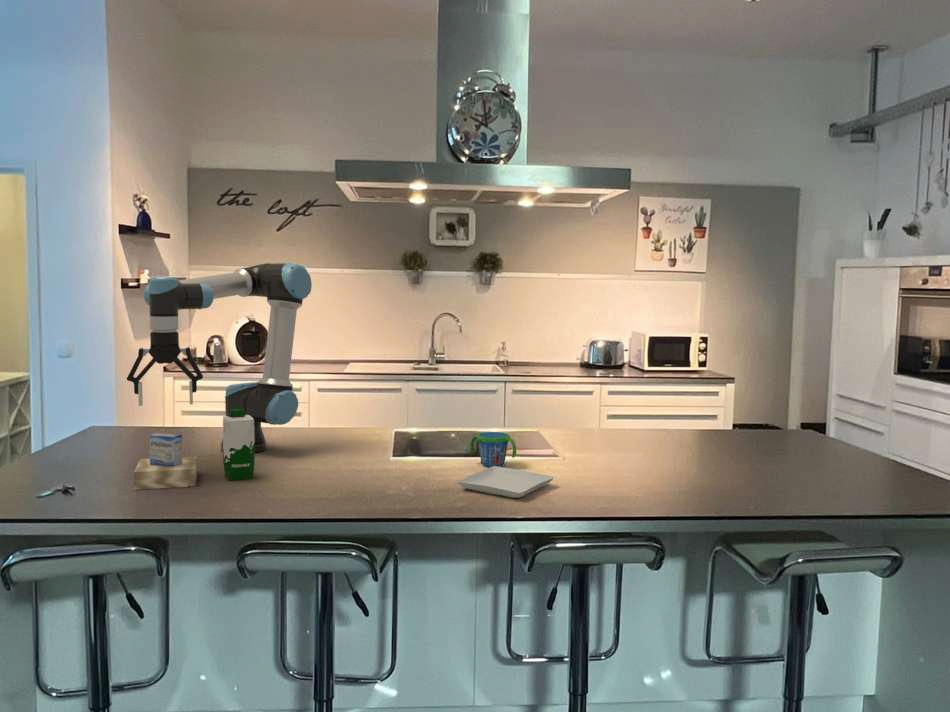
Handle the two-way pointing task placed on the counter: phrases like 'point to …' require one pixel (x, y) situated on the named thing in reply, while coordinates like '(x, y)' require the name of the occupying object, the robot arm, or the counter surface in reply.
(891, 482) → the counter surface
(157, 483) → the beige slab
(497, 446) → the snack cup
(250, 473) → the milk carton
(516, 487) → the salad plate
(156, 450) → the medicine box
